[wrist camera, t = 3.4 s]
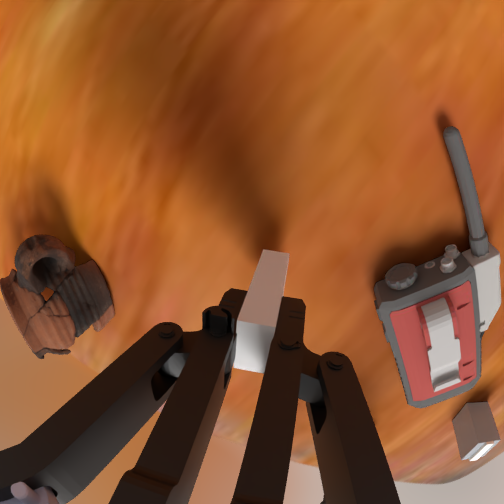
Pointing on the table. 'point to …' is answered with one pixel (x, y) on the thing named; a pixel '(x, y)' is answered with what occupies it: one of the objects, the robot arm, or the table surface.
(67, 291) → the pottery mug
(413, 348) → the walkie-talkie
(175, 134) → the table surface
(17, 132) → the table surface
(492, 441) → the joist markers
